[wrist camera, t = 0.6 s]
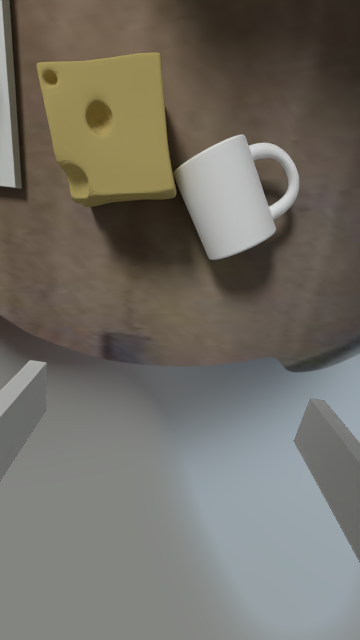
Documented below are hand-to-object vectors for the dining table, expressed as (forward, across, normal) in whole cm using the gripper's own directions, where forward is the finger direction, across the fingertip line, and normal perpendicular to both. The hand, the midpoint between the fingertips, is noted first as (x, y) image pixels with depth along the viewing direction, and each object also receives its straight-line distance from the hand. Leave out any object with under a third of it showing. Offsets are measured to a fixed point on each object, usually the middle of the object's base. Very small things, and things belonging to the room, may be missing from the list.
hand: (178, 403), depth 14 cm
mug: (+26, +5, +12) cm, 29 cm away
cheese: (+26, -8, +14) cm, 30 cm away
